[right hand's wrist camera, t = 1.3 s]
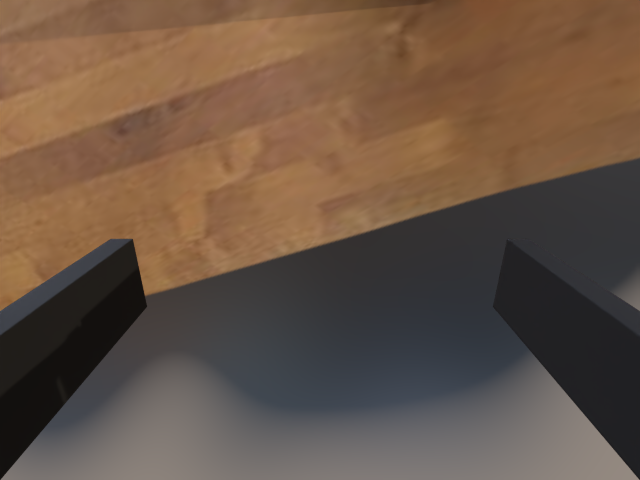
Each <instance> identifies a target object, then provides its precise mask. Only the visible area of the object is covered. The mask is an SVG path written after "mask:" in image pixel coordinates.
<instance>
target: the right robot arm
mask: <svg viewBox="0 0 640 480" xmlns="http://www.w3.org/2000/svg"><path fill="white" fill-rule="evenodd" d="M146 307H147V305H146V300H145V295H144V290H143V285H142V281H141V276H140V271H139V266H138V262H137V257H136V252H135V247H134V243H133V239H110V240H109V241H107V242H105V243H104V244H102V245H101V246H99V247H98V248H96V249H95V250H93V251H92V252H90V253H89V254H87V255H86V256H84V257H82V258H81V259H79V260H78V261H76V262H75V263H73V264H72V265H70V266H69V267H67V268H66V269H64V270H63V271H61V272H60V273H58V274H56V275H55V276H53V277H52V278H50V279H49V280H47V281H46V282H44V283H43V284H41V285H40V286H38V287H37V288H35V289H33V290H32V291H30V292H29V293H27V294H26V295H24V296H23V297H21V298H20V299H18V300H17V301H15V302H14V303H12V304H10V305H9V306H7V307H6V308H4V309H3V310H1V311H0V480H1V478H2V477H3V476H4V475H5V474H6V473H7V471H8V470H9V469H10V468H11V467H12V465H13V464H14V463H15V462H16V461H17V460H18V458H19V457H20V456H21V455H22V454H23V452H24V451H25V450H26V449H27V448H28V447H29V445H30V444H31V443H32V442H33V441H34V439H35V438H36V437H37V436H38V435H39V434H40V432H41V431H42V430H43V429H44V428H45V426H46V425H47V424H48V423H49V422H50V421H51V419H52V418H53V417H54V416H55V415H56V414H57V412H58V411H59V410H60V409H61V408H62V406H63V405H64V404H65V403H66V402H67V400H68V399H69V398H70V397H71V396H72V395H73V393H74V392H75V391H76V390H77V389H78V387H79V386H80V385H81V384H82V383H83V382H84V380H85V379H86V378H87V377H88V376H89V375H90V373H91V372H92V371H93V370H94V369H95V367H96V366H97V365H98V364H99V363H100V362H101V360H102V359H103V358H104V357H105V356H106V354H107V353H108V352H109V351H110V350H111V349H112V347H113V346H114V345H115V344H116V343H117V341H118V340H119V339H120V338H121V337H122V336H123V334H124V333H125V332H126V331H127V330H128V329H129V327H130V326H131V325H132V324H133V323H134V321H135V320H136V319H137V318H138V317H139V316H140V314H141V313H142V312H143V311H144V310H145V308H146ZM493 307H494V308H495V310H496V311H497V312H498V313H499V314H500V316H501V317H502V318H503V319H504V320H505V321H506V323H507V324H508V325H509V326H510V327H511V328H512V330H513V331H514V332H515V333H516V334H517V336H518V337H519V338H520V339H521V340H522V341H523V343H524V344H525V345H526V346H527V347H528V348H529V350H530V351H531V352H532V353H533V354H534V356H535V357H536V358H537V359H538V360H539V362H540V363H541V364H542V365H543V366H544V367H545V369H546V370H547V371H548V372H549V373H550V374H551V376H552V377H553V378H554V379H555V380H556V382H557V383H558V384H559V385H560V386H561V387H562V389H563V390H564V391H565V392H566V393H567V395H568V396H569V397H570V398H571V399H572V400H573V402H574V403H575V404H576V405H577V406H578V408H579V409H580V410H581V411H582V412H583V414H584V415H585V416H586V417H587V418H588V419H589V421H590V422H591V423H592V424H593V425H594V426H595V428H596V429H597V430H598V431H599V432H600V434H601V435H602V436H603V437H604V438H605V439H606V441H607V442H608V443H609V444H610V445H611V447H612V448H613V449H614V450H615V451H616V452H617V454H618V455H619V456H620V457H621V458H622V460H623V461H624V462H625V463H626V464H627V465H628V467H629V468H630V469H631V470H632V471H633V473H634V474H635V475H636V476H637V477H638V478H639V480H640V311H639V310H637V309H636V308H634V307H633V306H631V305H630V304H628V303H626V302H625V301H623V300H622V299H620V298H619V297H617V296H616V295H614V294H613V293H611V292H610V291H608V290H607V289H605V288H603V287H602V286H600V285H599V284H597V283H596V282H594V281H593V280H591V279H590V278H588V277H587V276H585V275H584V274H582V273H580V272H579V271H577V270H576V269H574V268H573V267H571V266H570V265H568V264H567V263H565V262H564V261H562V260H561V259H559V258H557V257H556V256H554V255H553V254H551V253H550V252H548V251H547V250H545V249H544V248H542V247H541V246H539V245H538V244H536V243H535V242H533V241H531V240H530V239H507V243H506V247H505V252H504V257H503V262H502V266H501V271H500V276H499V281H498V286H497V290H496V295H495V300H494V304H493Z"/></svg>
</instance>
